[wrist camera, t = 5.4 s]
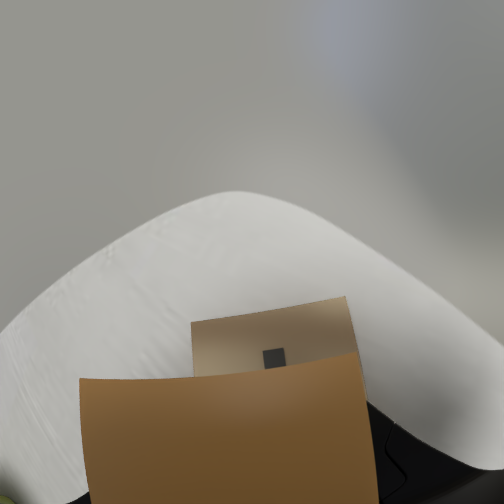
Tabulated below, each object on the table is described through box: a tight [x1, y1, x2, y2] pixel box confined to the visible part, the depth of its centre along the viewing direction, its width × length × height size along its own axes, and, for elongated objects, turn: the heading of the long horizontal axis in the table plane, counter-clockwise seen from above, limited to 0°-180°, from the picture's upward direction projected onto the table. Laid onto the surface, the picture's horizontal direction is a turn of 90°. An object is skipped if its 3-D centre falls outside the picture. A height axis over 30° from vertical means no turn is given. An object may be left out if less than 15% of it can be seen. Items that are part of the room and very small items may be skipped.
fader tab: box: [79, 352, 379, 504], centre depth 6 cm, size 2×3×11 cm
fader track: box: [191, 296, 368, 401], centre depth 11 cm, size 18×8×2 cm, turn 7°
